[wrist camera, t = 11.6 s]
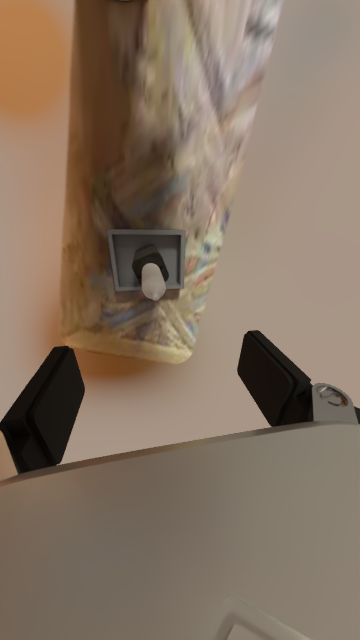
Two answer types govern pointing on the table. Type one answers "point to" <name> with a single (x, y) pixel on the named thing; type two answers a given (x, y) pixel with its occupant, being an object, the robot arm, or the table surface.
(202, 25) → the table surface
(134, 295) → the table surface
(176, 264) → the tray
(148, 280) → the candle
